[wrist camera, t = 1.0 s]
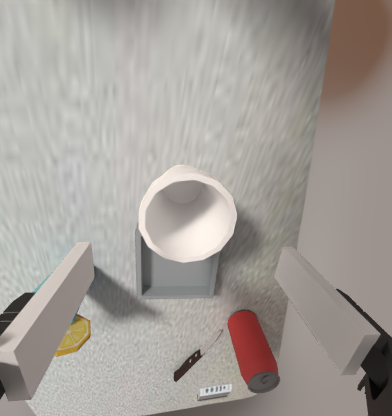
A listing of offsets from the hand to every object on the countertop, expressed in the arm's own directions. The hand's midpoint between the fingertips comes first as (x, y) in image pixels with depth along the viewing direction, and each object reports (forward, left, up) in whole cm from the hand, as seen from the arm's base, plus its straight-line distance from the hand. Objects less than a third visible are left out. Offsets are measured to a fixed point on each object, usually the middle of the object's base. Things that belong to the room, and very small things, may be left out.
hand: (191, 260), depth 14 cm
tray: (+13, 0, -19) cm, 23 cm away
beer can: (+30, +15, -19) cm, 38 cm away
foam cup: (0, 0, -19) cm, 19 cm away
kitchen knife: (+40, +6, -19) cm, 44 cm away
